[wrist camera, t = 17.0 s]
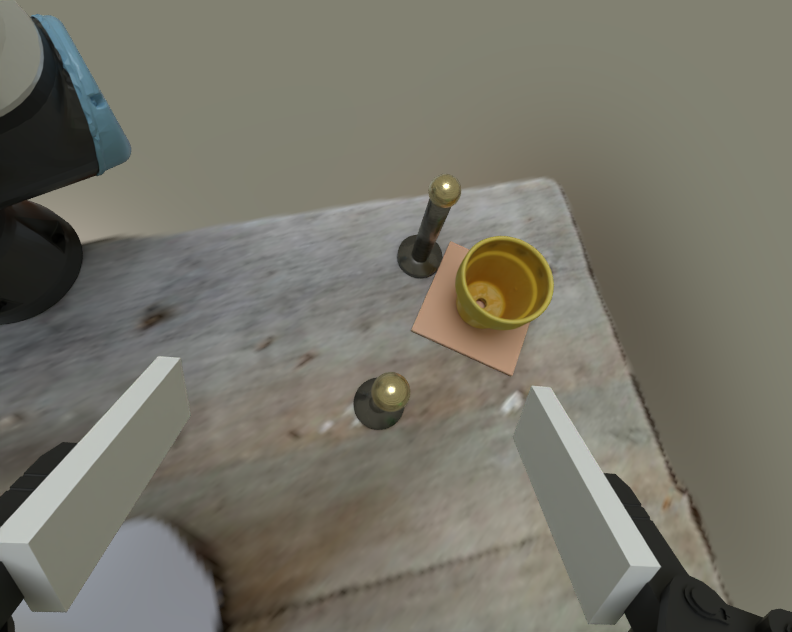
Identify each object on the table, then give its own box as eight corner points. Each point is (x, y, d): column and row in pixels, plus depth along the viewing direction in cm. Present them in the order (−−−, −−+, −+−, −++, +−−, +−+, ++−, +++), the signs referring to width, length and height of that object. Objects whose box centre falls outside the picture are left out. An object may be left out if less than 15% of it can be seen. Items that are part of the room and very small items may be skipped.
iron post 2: (390, 267, 51) (407, 192, 35) (407, 231, 53) (431, 145, 37) (430, 285, 51) (466, 219, 35) (446, 249, 52) (488, 170, 36)
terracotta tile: (410, 330, 49) (411, 329, 48) (449, 243, 53) (450, 241, 52) (510, 376, 48) (512, 375, 48) (541, 284, 53) (543, 282, 52)
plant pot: (458, 354, 48) (483, 336, 38) (430, 281, 50) (448, 247, 41) (529, 330, 50) (570, 307, 40) (499, 261, 52) (531, 225, 43)
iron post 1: (345, 416, 45) (341, 410, 29) (366, 370, 46) (373, 340, 30) (391, 437, 44) (413, 443, 28) (410, 390, 46) (441, 371, 30)
